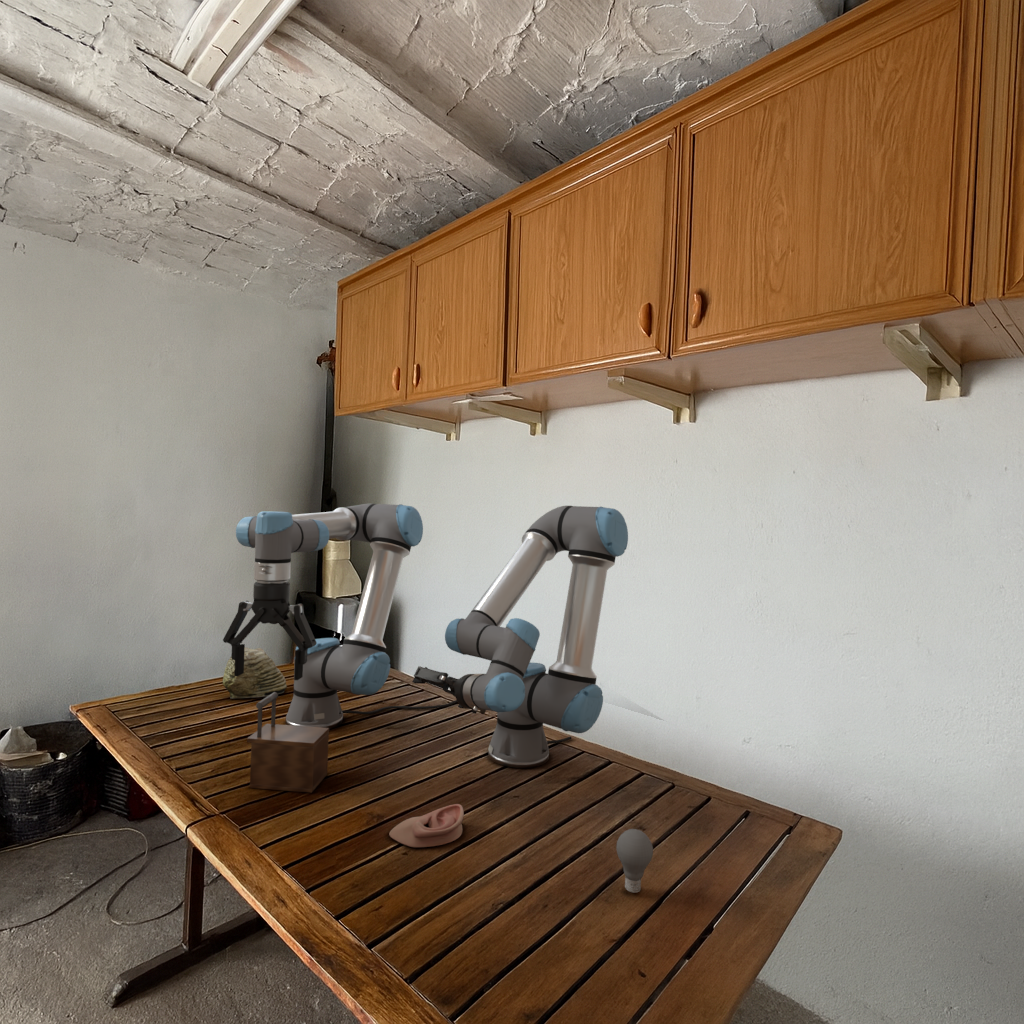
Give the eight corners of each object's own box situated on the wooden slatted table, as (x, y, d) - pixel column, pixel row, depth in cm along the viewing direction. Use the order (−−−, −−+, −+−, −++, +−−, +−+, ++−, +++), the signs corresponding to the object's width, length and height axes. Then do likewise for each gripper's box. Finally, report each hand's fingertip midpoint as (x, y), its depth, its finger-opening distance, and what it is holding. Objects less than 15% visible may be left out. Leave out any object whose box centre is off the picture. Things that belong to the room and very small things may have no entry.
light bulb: (610, 879, 108) (613, 822, 108) (644, 879, 109) (647, 822, 109) (619, 902, 102) (622, 840, 102) (655, 901, 103) (658, 840, 103)
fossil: (218, 695, 195) (220, 647, 195) (278, 685, 208) (279, 640, 207) (228, 703, 189) (230, 653, 188) (289, 692, 201) (290, 645, 201)
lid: (246, 742, 136) (248, 703, 136) (266, 727, 145) (267, 690, 145) (313, 747, 135) (314, 707, 135) (328, 731, 144) (330, 694, 144)
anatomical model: (383, 821, 117) (406, 793, 128) (382, 842, 117) (405, 813, 128) (452, 832, 114) (469, 802, 125) (451, 853, 114) (468, 822, 125)
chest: (249, 788, 136) (251, 743, 136) (269, 770, 145) (270, 727, 145) (311, 792, 135) (313, 747, 135) (327, 774, 144) (328, 732, 144)
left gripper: (208, 580, 137) (205, 677, 138) (320, 586, 135) (316, 685, 136) (226, 576, 145) (223, 668, 145) (333, 582, 143) (329, 675, 143)
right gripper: (421, 681, 133) (389, 681, 151) (515, 732, 141) (473, 726, 158) (437, 649, 136) (403, 652, 154) (527, 700, 144) (485, 698, 162)
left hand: (268, 676), depth 140 cm, fingers open, 13 cm apart
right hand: (438, 690), depth 156 cm, fingers open, 13 cm apart
